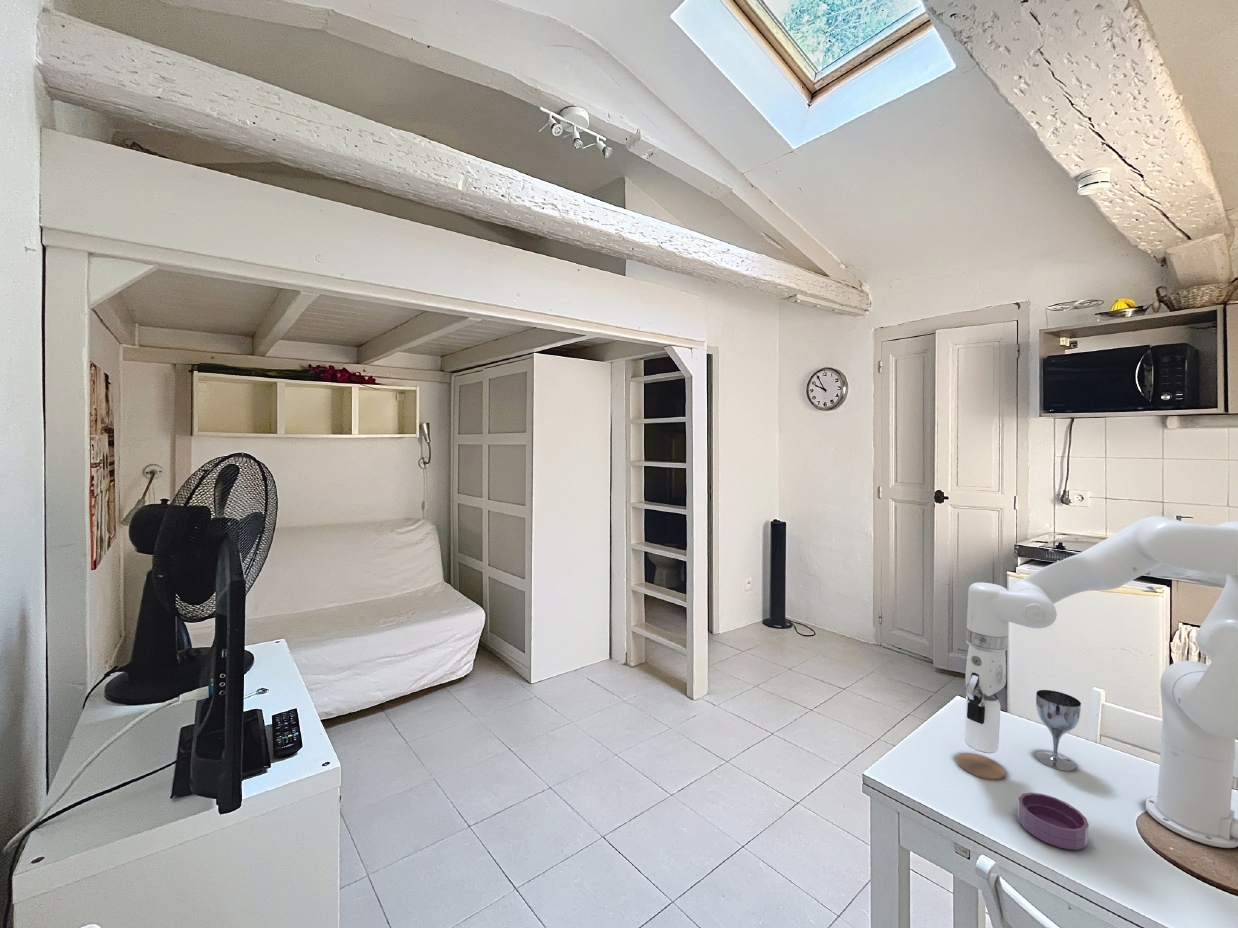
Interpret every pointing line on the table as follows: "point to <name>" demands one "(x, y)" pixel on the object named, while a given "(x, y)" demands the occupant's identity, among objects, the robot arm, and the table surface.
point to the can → (984, 726)
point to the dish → (1053, 821)
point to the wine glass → (1057, 723)
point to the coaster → (980, 766)
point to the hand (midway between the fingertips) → (982, 715)
